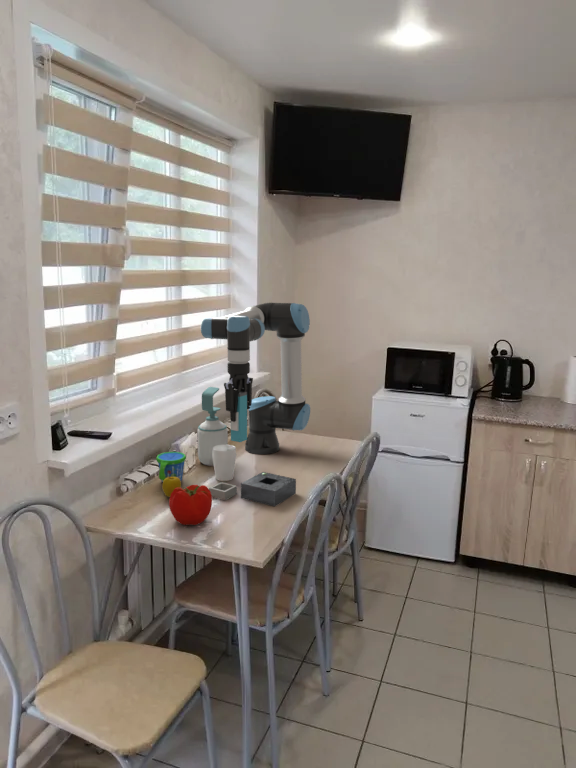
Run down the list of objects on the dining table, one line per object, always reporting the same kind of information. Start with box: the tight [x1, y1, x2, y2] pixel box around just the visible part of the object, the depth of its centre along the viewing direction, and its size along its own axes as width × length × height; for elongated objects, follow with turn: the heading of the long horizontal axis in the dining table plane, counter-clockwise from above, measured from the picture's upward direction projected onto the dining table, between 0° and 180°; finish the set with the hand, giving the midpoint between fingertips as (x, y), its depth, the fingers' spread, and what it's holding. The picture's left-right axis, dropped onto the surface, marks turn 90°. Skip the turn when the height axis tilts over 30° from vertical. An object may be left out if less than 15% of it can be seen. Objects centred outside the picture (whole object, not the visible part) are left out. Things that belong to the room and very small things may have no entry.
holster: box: [208, 481, 238, 501], centre depth 214 cm, size 7×7×3 cm
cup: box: [212, 444, 237, 482], centre depth 230 cm, size 9×9×12 cm
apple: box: [162, 476, 182, 498], centre depth 212 cm, size 6×6×8 cm
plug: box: [230, 391, 248, 443], centre depth 209 cm, size 4×4×17 cm
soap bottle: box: [196, 386, 229, 467], centre depth 246 cm, size 12×12×31 cm
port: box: [240, 471, 297, 507], centre depth 214 cm, size 14×14×6 cm
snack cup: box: [156, 451, 187, 483], centre depth 226 cm, size 16×10×10 cm
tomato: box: [168, 484, 213, 526], centre depth 192 cm, size 13×14×12 cm
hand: (239, 428), depth 210 cm, fingers closed on plug, 4 cm apart
